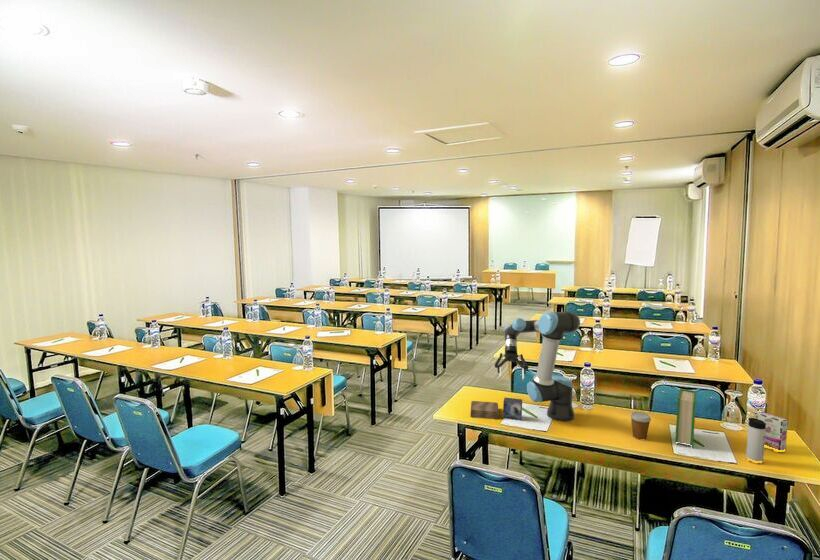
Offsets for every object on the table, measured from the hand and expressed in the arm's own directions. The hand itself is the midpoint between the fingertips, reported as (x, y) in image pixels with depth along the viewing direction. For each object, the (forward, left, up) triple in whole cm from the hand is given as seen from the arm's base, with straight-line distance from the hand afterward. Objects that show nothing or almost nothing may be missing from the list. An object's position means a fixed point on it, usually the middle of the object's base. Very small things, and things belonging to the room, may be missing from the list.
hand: (511, 378), depth 257 cm
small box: (0, +11, -20) cm, 23 cm away
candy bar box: (-124, +26, -20) cm, 128 cm away
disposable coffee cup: (-64, +25, -20) cm, 72 cm away
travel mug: (-108, +42, -20) cm, 118 cm away
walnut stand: (+16, +7, -20) cm, 26 cm away
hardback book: (-86, +24, -20) cm, 92 cm away
